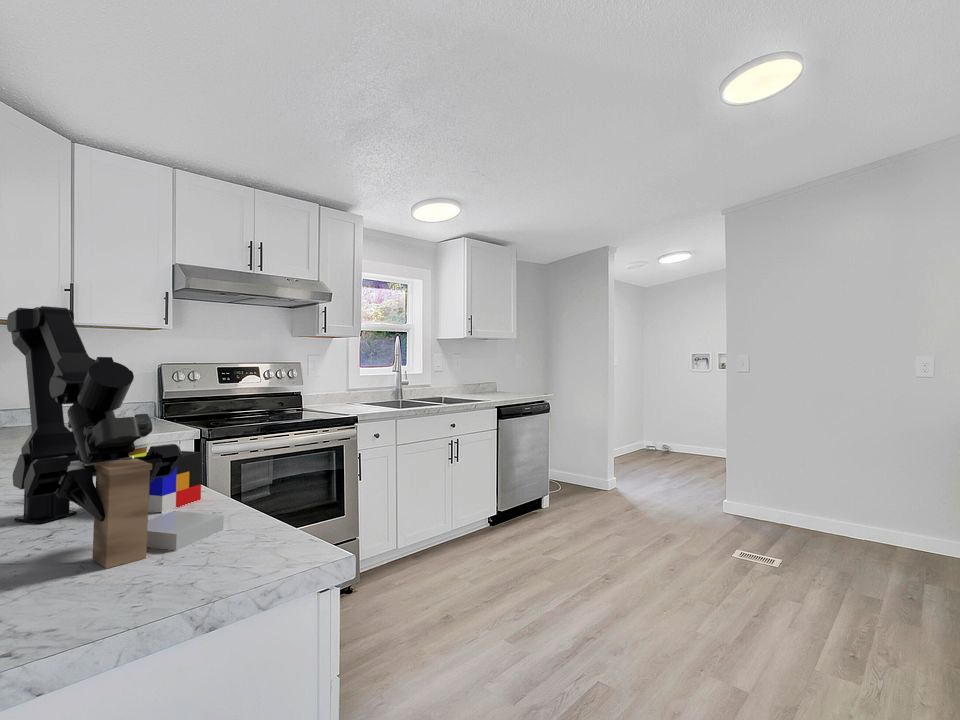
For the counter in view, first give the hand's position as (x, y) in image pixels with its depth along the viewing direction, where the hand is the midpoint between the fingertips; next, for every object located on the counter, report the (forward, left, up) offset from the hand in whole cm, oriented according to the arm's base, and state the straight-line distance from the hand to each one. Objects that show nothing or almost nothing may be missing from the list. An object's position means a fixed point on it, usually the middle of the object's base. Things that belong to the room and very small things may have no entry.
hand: (124, 515), depth 74 cm
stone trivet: (-1, +11, -7) cm, 13 cm away
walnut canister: (-1, +1, -6) cm, 7 cm away
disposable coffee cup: (-34, +31, -7) cm, 46 cm away
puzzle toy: (-19, +26, -7) cm, 33 cm away
